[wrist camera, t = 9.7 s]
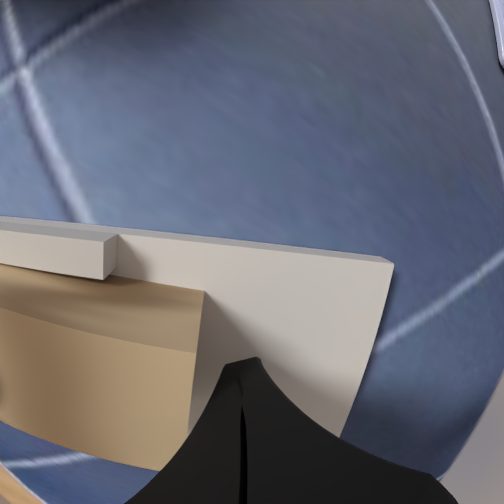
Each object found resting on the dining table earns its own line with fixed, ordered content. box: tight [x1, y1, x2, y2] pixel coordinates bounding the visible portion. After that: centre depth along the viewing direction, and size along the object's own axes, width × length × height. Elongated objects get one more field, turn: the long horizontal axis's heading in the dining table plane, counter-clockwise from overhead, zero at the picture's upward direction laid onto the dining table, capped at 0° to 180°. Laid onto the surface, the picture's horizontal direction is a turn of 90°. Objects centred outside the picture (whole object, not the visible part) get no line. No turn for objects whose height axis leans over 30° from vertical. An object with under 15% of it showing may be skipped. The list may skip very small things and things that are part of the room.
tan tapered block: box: [0, 263, 204, 471], centre depth 7 cm, size 7×4×4 cm, turn 79°
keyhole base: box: [0, 216, 394, 437], centre depth 8 cm, size 15×8×6 cm, turn 82°
